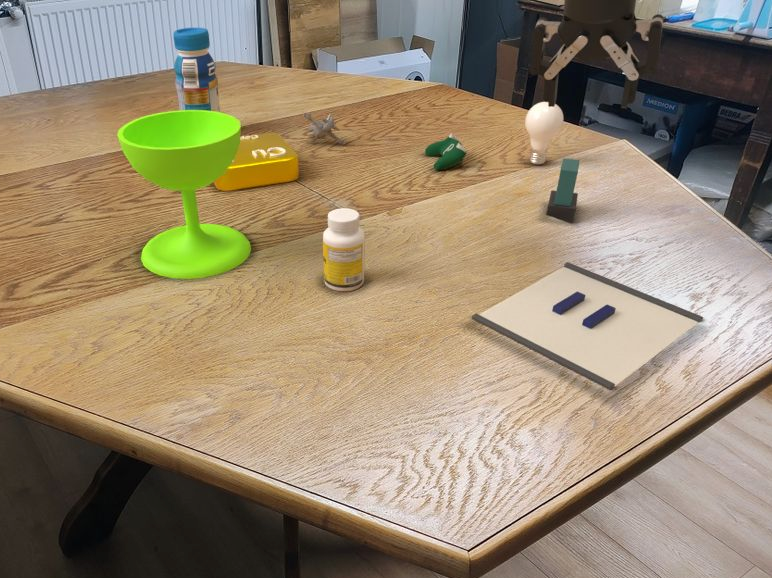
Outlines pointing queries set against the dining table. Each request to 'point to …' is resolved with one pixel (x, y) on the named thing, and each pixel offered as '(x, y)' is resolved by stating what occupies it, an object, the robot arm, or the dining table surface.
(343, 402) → the dining table surface
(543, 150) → the lightbulb
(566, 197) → the eraser
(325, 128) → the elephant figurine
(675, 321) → the whiteboard
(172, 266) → the wineglass
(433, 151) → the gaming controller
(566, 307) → the bar
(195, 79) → the beverage bottle
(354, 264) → the supplement bottle
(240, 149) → the element tile
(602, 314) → the bar
